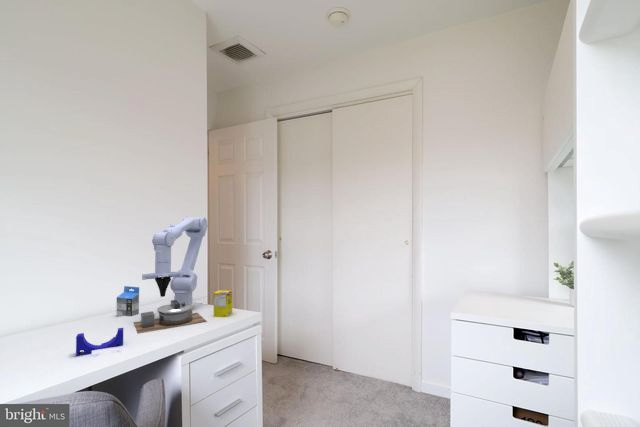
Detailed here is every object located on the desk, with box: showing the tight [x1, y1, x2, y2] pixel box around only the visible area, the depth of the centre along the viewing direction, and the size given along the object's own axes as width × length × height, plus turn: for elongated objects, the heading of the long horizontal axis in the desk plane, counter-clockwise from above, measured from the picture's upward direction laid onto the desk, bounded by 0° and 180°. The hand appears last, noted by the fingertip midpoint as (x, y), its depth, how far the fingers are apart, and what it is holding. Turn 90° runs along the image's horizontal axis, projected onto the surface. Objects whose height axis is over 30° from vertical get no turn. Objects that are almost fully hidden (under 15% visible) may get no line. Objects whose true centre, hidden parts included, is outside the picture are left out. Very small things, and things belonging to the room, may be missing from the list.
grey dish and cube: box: [140, 308, 193, 328], centre depth 127 cm, size 12×18×4 cm, turn 124°
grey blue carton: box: [116, 285, 140, 318], centre depth 140 cm, size 9×4×12 cm, turn 71°
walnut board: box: [133, 312, 208, 335], centre depth 128 cm, size 16×24×1 cm, turn 124°
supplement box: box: [213, 289, 233, 318], centre depth 138 cm, size 6×6×11 cm
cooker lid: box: [156, 299, 193, 314], centre depth 129 cm, size 13×13×3 cm
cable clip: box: [75, 327, 124, 357], centre depth 103 cm, size 12×4×6 cm, turn 119°
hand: (162, 296), depth 131 cm, fingers closed
